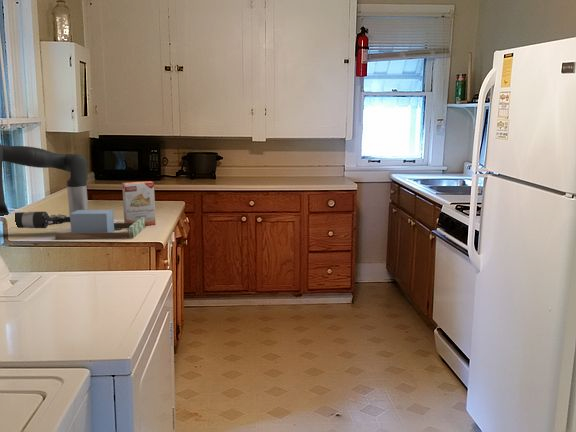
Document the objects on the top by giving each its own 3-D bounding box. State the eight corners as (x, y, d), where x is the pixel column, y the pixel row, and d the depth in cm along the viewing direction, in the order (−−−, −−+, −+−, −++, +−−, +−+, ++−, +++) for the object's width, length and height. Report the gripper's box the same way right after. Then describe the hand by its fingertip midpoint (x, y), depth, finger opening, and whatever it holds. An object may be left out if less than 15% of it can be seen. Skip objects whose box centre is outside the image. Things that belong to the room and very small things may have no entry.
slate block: (79, 231, 256) (77, 209, 254) (114, 230, 257) (112, 209, 255) (71, 236, 246) (69, 214, 245) (107, 235, 247) (106, 213, 245)
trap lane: (73, 228, 262) (72, 218, 261) (144, 227, 263) (144, 217, 262) (55, 239, 240) (54, 228, 239) (133, 238, 241) (132, 226, 240)
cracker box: (126, 227, 263) (124, 183, 259) (124, 225, 268) (121, 182, 264) (156, 224, 269) (154, 181, 265) (153, 222, 274) (150, 180, 270)
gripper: (28, 214, 242) (68, 213, 243) (40, 209, 255) (78, 208, 256) (29, 231, 244) (69, 230, 244) (42, 225, 257) (80, 224, 257)
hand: (74, 219), depth 250 cm, fingers closed
